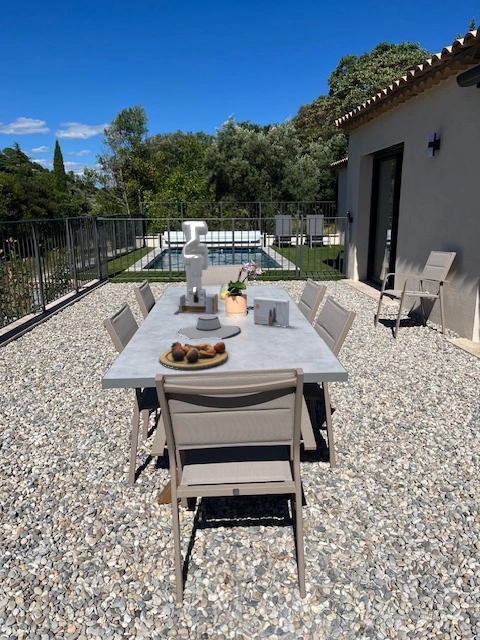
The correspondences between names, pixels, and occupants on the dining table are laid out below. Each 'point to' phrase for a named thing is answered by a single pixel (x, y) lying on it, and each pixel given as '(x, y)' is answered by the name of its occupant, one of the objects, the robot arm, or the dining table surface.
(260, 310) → the skincare box
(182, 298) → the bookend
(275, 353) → the dining table surface
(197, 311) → the shelf
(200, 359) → the wooden plate with food
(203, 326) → the sun hat
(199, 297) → the light bulb box
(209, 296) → the book
